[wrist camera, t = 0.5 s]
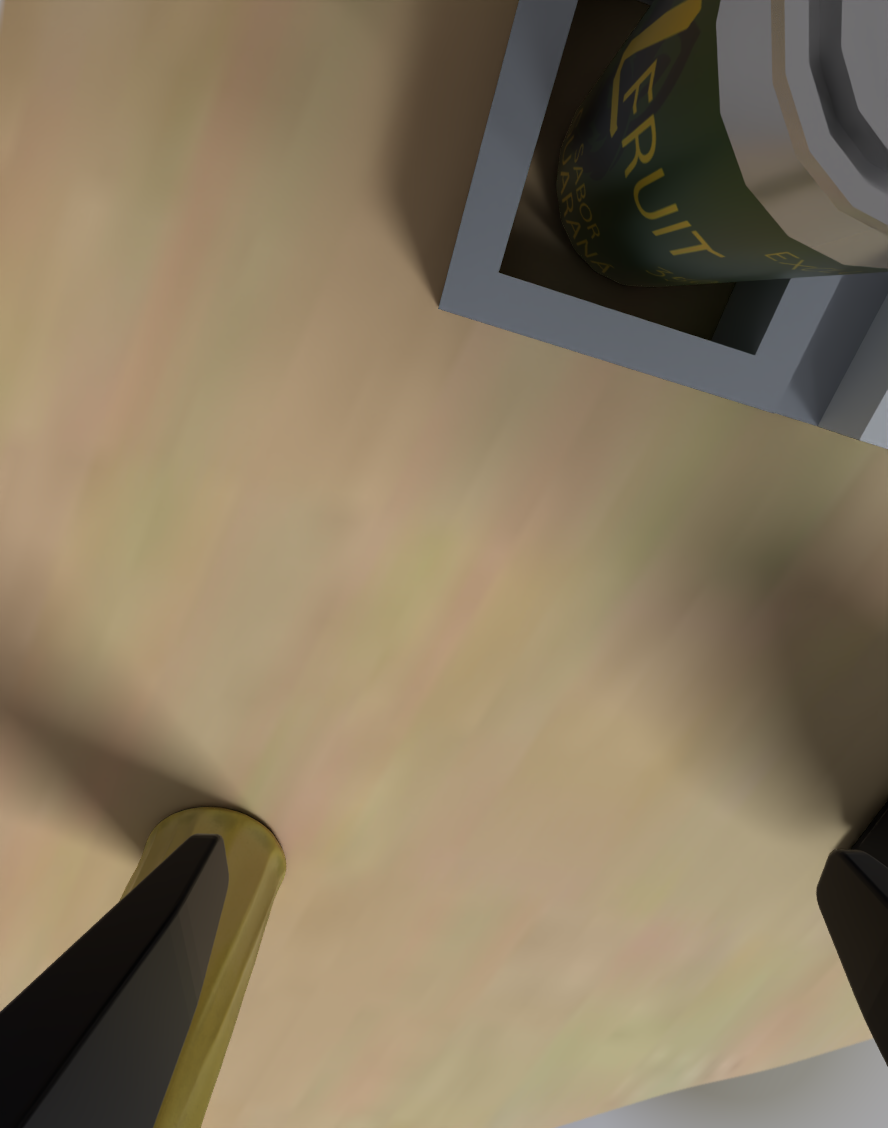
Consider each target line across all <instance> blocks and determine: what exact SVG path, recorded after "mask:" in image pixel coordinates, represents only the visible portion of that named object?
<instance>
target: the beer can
mask: <svg viewBox="0 0 888 1128" xmlns="http://www.w3.org/2000/svg"><path fill="white" fill-rule="evenodd" d="M556 190H557V197H558V204H559V211H560V217H561V222H562V224H563V226H564V228H565V230H566V232H567V235H568V237H569V239H570V241H571V243H572V245H573V247H574V250H575V251H576V252H577V253H578V254H579V255H580V256H581V257H582V258H583V259H584V260H585V261H586V262H587V263H588V264H589V265H590V266H591V268H592V269H593V270H594V271H595V272H597V273H599V274H601V275H603V276H605V277H607V278H609V279H611V280H613V281H615V282H618V283H620V284H622V285H630V286H642V287H665V286H680V285H695V284H710V283H725V282H740V281H756V280H771V279H786V278H801V277H816V276H831V275H847V274H862V273H877V272H888V0H655V1H654V2H653V3H652V5H651V6H650V8H649V9H648V10H647V12H646V13H645V15H644V16H643V17H642V19H641V20H640V22H639V23H638V25H637V26H636V27H635V29H634V30H633V32H632V33H631V34H630V36H629V37H628V39H627V40H626V41H625V43H624V44H623V46H622V47H621V49H620V50H619V51H618V53H617V54H616V56H615V57H614V58H613V60H612V61H611V63H610V64H609V65H608V67H607V68H606V70H605V71H604V73H603V74H602V75H601V77H600V78H599V80H598V81H597V82H596V84H595V85H594V87H593V88H592V89H591V91H590V92H589V94H588V95H587V97H586V98H585V99H584V101H583V102H582V104H581V105H580V106H579V108H578V109H577V111H576V112H575V115H574V117H573V120H572V122H571V124H570V127H569V129H568V132H567V134H566V137H565V139H564V141H563V144H562V146H561V150H560V158H559V166H558V173H557V181H556Z"/></svg>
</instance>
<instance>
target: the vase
mask: <svg viewBox="0 0 888 1128" xmlns="http://www.w3.org/2000/svg"><path fill="white" fill-rule="evenodd" d="M197 833H204V834H219V835H221V836H222V838H223V840H224V845H225V851H226V858H227V864H228V871H229V884H228V890H227V894H226V898H225V902H224V906H223V909H222V913H221V917H220V921H219V925H218V929H217V933H216V937H215V940H214V944H213V948H212V952H211V956H210V960H209V964H208V967H207V971H206V975H205V979H204V983H203V987H202V990H201V994H200V997H199V1001H198V1005H197V1008H196V1011H195V1013H194V1016H193V1019H192V1022H191V1025H190V1028H189V1031H188V1033H187V1036H186V1039H185V1042H184V1044H183V1047H182V1050H181V1053H180V1055H179V1058H178V1061H177V1064H176V1066H175V1069H174V1072H173V1075H172V1077H171V1080H170V1083H169V1086H168V1088H167V1091H166V1094H165V1097H164V1099H163V1102H162V1105H161V1108H160V1110H159V1113H158V1116H157V1119H156V1121H155V1124H154V1127H153V1128H201V1125H202V1122H203V1119H204V1115H205V1112H206V1110H207V1107H208V1104H209V1101H210V1098H211V1095H212V1092H213V1089H214V1086H215V1083H216V1080H217V1077H218V1075H219V1072H220V1069H221V1066H222V1063H223V1059H224V1056H225V1053H226V1050H227V1047H228V1044H229V1042H230V1039H231V1036H232V1033H233V1029H234V1026H235V1023H236V1020H237V1017H238V1013H239V1010H240V1007H241V1004H242V1001H243V997H244V994H245V991H246V988H247V985H248V982H249V979H250V976H251V973H252V970H253V967H254V964H255V961H256V957H257V954H258V950H259V947H260V943H261V940H262V937H263V933H264V930H265V927H266V924H267V921H268V918H269V915H270V911H271V908H272V904H273V901H274V898H275V896H276V894H277V891H278V889H279V887H280V885H281V883H282V881H283V878H284V876H285V872H286V859H285V855H284V852H283V850H282V848H281V846H280V844H279V843H278V841H277V840H276V838H275V836H274V835H273V834H272V833H271V832H270V831H269V829H267V828H266V827H265V826H264V825H263V824H261V823H260V822H258V821H257V820H255V819H253V818H251V817H249V816H247V815H245V814H243V813H240V812H237V811H234V810H230V809H224V808H217V807H198V808H192V809H186V810H183V811H180V812H177V813H175V814H173V815H171V816H169V817H167V818H166V819H164V820H163V821H161V822H160V823H159V824H158V825H157V826H156V827H155V828H154V829H153V831H152V832H151V834H150V836H149V838H148V840H147V842H146V845H145V848H144V851H143V854H142V857H141V859H140V862H139V864H138V866H137V868H136V870H135V872H134V873H133V875H132V877H131V879H130V881H129V883H128V884H127V886H126V888H125V890H124V893H123V895H122V897H121V899H120V901H121V900H122V899H123V898H124V897H125V896H126V895H127V894H128V893H129V892H130V891H131V890H132V889H134V888H135V887H136V886H137V885H138V884H139V883H140V882H141V881H142V880H143V879H144V878H145V877H146V876H148V875H149V874H150V873H151V872H152V871H153V870H154V869H155V868H156V867H157V866H158V865H159V864H161V863H162V862H163V861H164V860H165V859H166V858H167V857H168V856H169V855H170V854H171V853H172V852H174V851H175V850H176V849H177V848H178V847H179V846H180V845H181V844H182V843H183V842H184V841H185V840H186V839H188V838H189V837H190V836H192V835H194V834H197Z"/></svg>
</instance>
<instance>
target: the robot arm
mask: <svg viewBox="0 0 888 1128" xmlns="http://www.w3.org/2000/svg"><path fill="white" fill-rule="evenodd" d="M228 884H229V871H228V864H227V858H226V851H225V845H224V840H223V838H222V836H221V835H219V834H204V833H197V834H194V835H192V836H190V837H189V838H188V839H186V840H185V841H184V842H183V843H182V844H181V845H180V846H179V847H178V848H177V849H176V850H175V851H174V852H172V853H171V854H170V855H169V856H168V857H167V858H166V859H165V860H164V861H163V862H162V863H161V864H159V865H158V866H157V867H156V868H155V869H154V870H153V871H152V872H151V873H150V874H149V875H148V876H146V877H145V878H144V879H143V880H142V881H141V882H140V883H139V884H138V885H137V886H136V887H135V888H134V889H132V890H131V891H130V892H129V893H128V894H127V895H126V896H125V897H124V898H123V899H122V900H121V901H119V902H118V903H117V904H116V905H115V906H114V907H113V908H112V909H111V910H110V911H109V912H108V913H107V914H105V915H104V916H103V917H102V918H101V919H100V920H99V921H98V922H97V923H96V924H95V925H94V926H92V927H91V928H90V929H89V930H88V931H87V932H86V933H85V934H84V935H83V936H82V937H81V938H80V939H78V940H77V941H76V942H75V943H74V944H73V945H72V946H71V947H70V948H69V949H68V950H67V951H65V952H64V953H63V954H62V955H61V956H60V957H59V958H58V959H57V960H56V961H55V962H54V963H52V964H51V965H50V966H49V967H48V968H47V969H46V970H45V971H44V972H43V973H42V974H41V975H40V976H38V977H37V978H36V979H35V980H34V981H33V982H32V983H31V984H30V985H29V986H28V987H27V988H25V989H24V990H23V991H22V992H21V993H20V994H19V995H18V996H17V997H16V998H15V999H14V1000H13V1001H11V1002H10V1003H9V1004H8V1005H7V1006H6V1007H5V1008H4V1009H3V1010H2V1011H1V1012H0V1128H153V1127H154V1124H155V1121H156V1119H157V1116H158V1113H159V1110H160V1108H161V1105H162V1102H163V1099H164V1097H165V1094H166V1091H167V1088H168V1086H169V1083H170V1080H171V1077H172V1075H173V1072H174V1069H175V1066H176V1064H177V1061H178V1058H179V1055H180V1053H181V1050H182V1047H183V1044H184V1042H185V1039H186V1036H187V1033H188V1031H189V1028H190V1025H191V1022H192V1019H193V1016H194V1013H195V1011H196V1008H197V1005H198V1001H199V997H200V994H201V990H202V987H203V983H204V979H205V975H206V971H207V967H208V964H209V960H210V956H211V952H212V948H213V944H214V940H215V937H216V933H217V929H218V925H219V921H220V917H221V913H222V909H223V906H224V902H225V898H226V894H227V890H228ZM816 895H817V901H818V905H819V908H820V910H821V913H822V915H823V918H824V920H825V923H826V925H827V928H828V931H829V933H830V936H831V938H832V941H833V943H834V946H835V948H836V951H837V953H838V956H839V958H840V961H841V963H842V966H843V968H844V971H845V973H846V976H847V978H848V981H849V983H850V986H851V988H852V991H853V993H854V996H855V998H856V1001H857V1003H858V1005H859V1007H860V1010H861V1012H862V1014H863V1017H864V1019H865V1021H866V1023H867V1025H868V1027H869V1030H870V1032H871V1034H872V1036H873V1038H874V1040H875V1042H876V1044H877V1046H878V1048H879V1050H880V1052H881V1054H882V1056H883V1058H884V1060H885V1062H886V1064H887V1066H888V802H887V803H886V804H885V806H884V807H883V808H882V810H881V811H880V812H879V814H878V815H877V816H876V818H875V819H874V820H873V821H872V823H871V824H870V825H869V827H868V828H867V829H866V831H865V832H864V833H863V835H862V836H861V837H860V839H859V840H858V841H857V842H856V844H855V845H854V846H853V848H852V849H851V850H841V849H837V850H834V851H832V852H831V853H830V854H829V856H828V859H827V861H826V864H825V867H824V869H823V872H822V874H821V877H820V880H819V882H818V885H817V892H816Z"/></svg>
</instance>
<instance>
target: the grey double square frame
mask: <svg viewBox="0 0 888 1128" xmlns="http://www.w3.org/2000/svg"><path fill="white" fill-rule="evenodd" d="M638 1H640V2H643V3H646V4H648V5H652V3H653V2H654V1H655V0H638ZM577 2H578V0H519V3H518V7H517V11H516V14H515V18H514V22H513V26H512V30H511V33H510V37H509V41H508V45H507V49H506V53H505V56H504V60H503V64H502V68H501V72H500V75H499V79H498V83H497V87H496V91H495V95H494V98H493V102H492V106H491V110H490V114H489V117H488V121H487V125H486V129H485V133H484V137H483V140H482V144H481V148H480V152H479V156H478V159H477V163H476V167H475V171H474V175H473V179H472V182H471V186H470V190H469V194H468V198H467V202H466V205H465V209H464V213H463V217H462V221H461V224H460V228H459V232H458V236H457V240H456V244H455V247H454V251H453V255H452V259H451V263H450V266H449V270H448V274H447V278H446V282H445V286H444V289H443V293H442V297H441V301H440V305H439V308H438V309H441V310H444V311H447V312H450V313H453V314H457V315H460V316H463V317H466V318H469V319H473V320H476V321H479V322H482V323H485V324H489V325H492V326H495V327H498V328H501V329H505V330H508V331H511V332H514V333H518V334H521V335H524V336H527V337H530V338H534V339H537V340H540V341H543V342H546V343H550V344H553V345H556V346H559V347H562V348H566V349H569V350H572V351H575V352H578V353H582V354H585V355H588V356H591V357H594V358H598V359H601V360H604V361H607V362H610V363H614V364H617V365H620V366H623V367H626V368H630V369H633V370H636V371H639V372H642V373H646V374H649V375H652V376H655V377H659V378H662V379H665V380H668V381H671V382H675V383H678V384H681V385H684V386H687V387H691V388H694V389H697V390H700V391H703V392H707V393H710V394H713V395H716V396H719V397H723V398H726V399H729V400H732V401H735V402H739V403H742V404H745V405H748V406H751V407H755V408H758V409H761V410H764V411H767V412H771V413H777V414H780V415H783V416H786V417H789V418H793V419H796V420H799V421H802V422H805V423H809V424H812V425H815V426H818V427H821V428H824V429H827V430H830V431H833V432H836V433H839V434H842V435H845V436H848V437H851V438H854V439H857V440H860V441H864V442H867V443H870V444H873V445H876V446H880V447H883V448H886V449H888V272H877V273H862V274H847V275H831V276H816V277H801V278H786V279H771V280H756V281H740V282H736V284H735V287H734V289H733V291H732V294H731V296H730V298H729V300H728V303H727V305H726V307H725V310H724V312H723V314H722V317H721V319H720V321H719V323H718V326H717V328H716V330H715V333H714V335H713V337H712V340H711V341H709V340H706V339H703V338H699V337H696V336H693V335H690V334H687V333H684V332H681V331H678V330H675V329H672V328H668V327H665V326H662V325H659V324H656V323H653V322H650V321H647V320H644V319H641V318H638V317H634V316H631V315H628V314H625V313H622V312H619V311H616V310H613V309H610V308H607V307H603V306H600V305H597V304H594V303H591V302H588V301H585V300H582V299H579V298H576V297H573V296H569V295H566V294H563V293H560V292H557V291H554V290H551V289H548V288H545V287H542V286H538V285H535V284H532V283H529V282H526V281H523V280H520V279H517V278H514V277H511V276H507V275H504V274H501V273H499V269H500V266H501V263H502V259H503V256H504V252H505V249H506V245H507V242H508V239H509V235H510V232H511V228H512V225H513V222H514V218H515V215H516V211H517V208H518V204H519V201H520V198H521V194H522V191H523V187H524V184H525V180H526V177H527V174H528V170H529V167H530V163H531V160H532V156H533V153H534V150H535V146H536V143H537V139H538V136H539V132H540V129H541V126H542V122H543V119H544V115H545V112H546V108H547V105H548V102H549V98H550V95H551V91H552V88H553V84H554V81H555V78H556V74H557V71H558V67H559V64H560V60H561V57H562V54H563V50H564V47H565V43H566V40H567V36H568V33H569V30H570V26H571V23H572V19H573V16H574V13H575V9H576V6H577Z"/></svg>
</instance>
